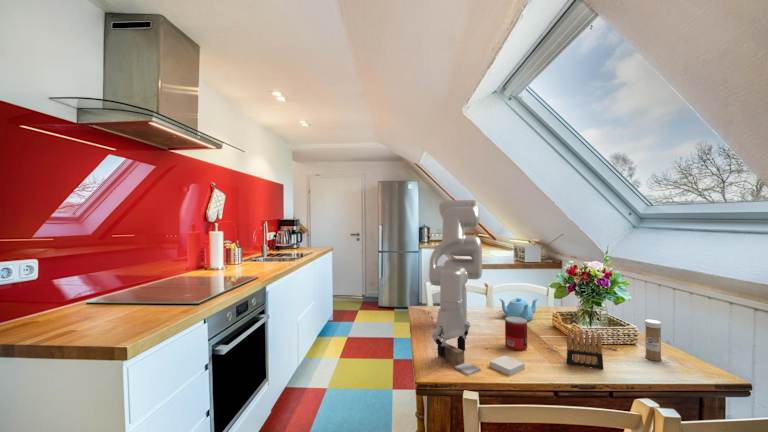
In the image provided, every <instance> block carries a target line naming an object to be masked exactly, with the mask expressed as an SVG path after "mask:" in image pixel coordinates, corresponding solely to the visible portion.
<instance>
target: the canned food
mask: <svg viewBox="0 0 768 432" xmlns="http://www.w3.org/2000/svg"><path fill="white" fill-rule="evenodd" d="M504 321H505V322H504V331H505V332H504V333H505V334H504V335H505V337H504V338H505V343H504V344H505V347H506V348H507V349H509V350H511V351H515V352H523V351H527V348H528V321H527V320H526V319H524V318H521V317H507V316H506V317H505V318H504Z"/></svg>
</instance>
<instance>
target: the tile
mask: <svg viewBox="0 0 768 432" xmlns="http://www.w3.org/2000/svg"><path fill="white" fill-rule="evenodd" d="M525 365H526V363H524V362H522V361H519V360H517V359H514V358H512V357H510V356H507V355H502V356H499V357H497V358H494V359H491V360H489V368H492V369H494V370H496V371H497V372H501V373H503V374H505V375H507V376H513V375H515V374H518V373H520V372H523V371H524V370H525V369H526V367H525Z"/></svg>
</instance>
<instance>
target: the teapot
mask: <svg viewBox="0 0 768 432" xmlns="http://www.w3.org/2000/svg"><path fill="white" fill-rule="evenodd" d="M498 300H499V301H500V302H501V309H502V312H503V313H504V314H505V316H506V317H521V318H524V319H526V320H527V322H529V321H531V320H532V319H533V317H534V314H535V312H536V311H537V309H536V308H537V306H536V305H537V301H538V300H539V298H535V299H532V304H531V305H530V304H529V303H528V301H526V300H525V299H524V300H523V299H522V298H521V297H515V298H514V299H511V300H510V301H509V303H508V304H507V305H506V303H505V300H503V299H501V298H498Z"/></svg>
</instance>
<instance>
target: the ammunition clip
mask: <svg viewBox="0 0 768 432" xmlns="http://www.w3.org/2000/svg"><path fill="white" fill-rule="evenodd" d="M590 336H591V337H590ZM572 338H573V339H572ZM584 338H585V339H584ZM578 339H579V340H578ZM603 359H604V357H603V345H602V335H601V333H600V332H598V333H597V336H595V332H594V331H592V332H591V335H589V332H588V330H586V332H585V336H584V333H583V331H582V330H580V331H579V338H578V332H577V329H575V330H574V331H573V337H572V332H571V329H568V331H567V339H566V365H568V366H575V367H582V366H584V367H583V368H589V367H592V368H591V369H596V368H598V369H599V370H604V360H603ZM598 369H597V370H598Z"/></svg>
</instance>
